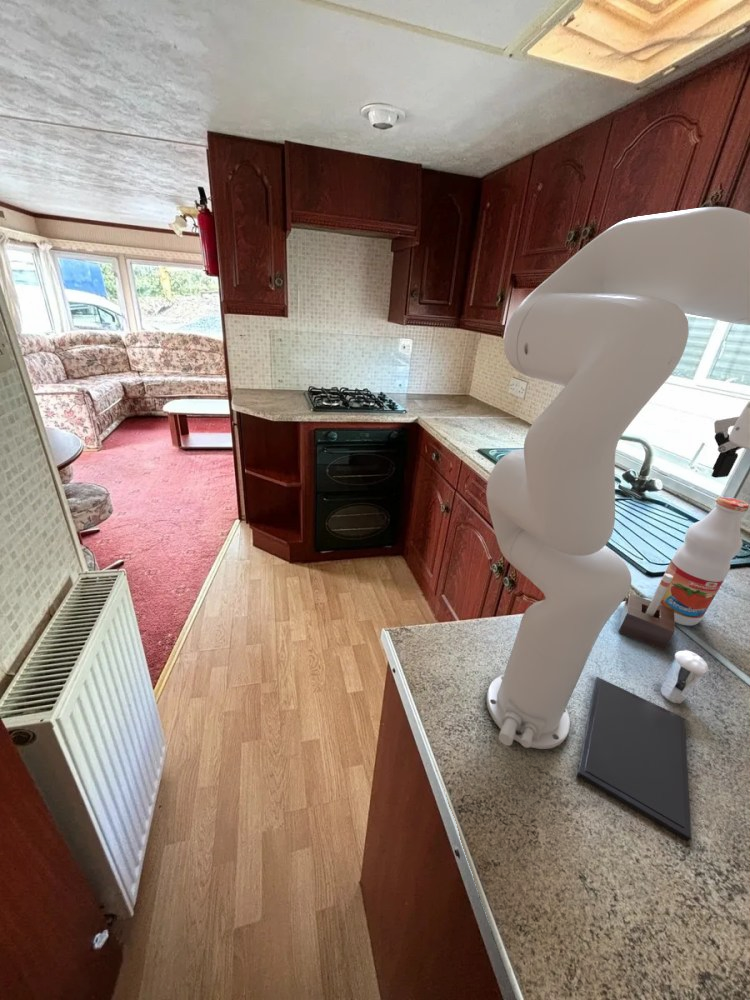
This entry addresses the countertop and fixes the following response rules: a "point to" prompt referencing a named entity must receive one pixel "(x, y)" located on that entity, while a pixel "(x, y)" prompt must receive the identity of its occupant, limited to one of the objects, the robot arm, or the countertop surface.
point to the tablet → (637, 756)
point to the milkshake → (683, 675)
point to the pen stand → (647, 622)
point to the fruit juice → (704, 560)
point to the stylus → (659, 594)
